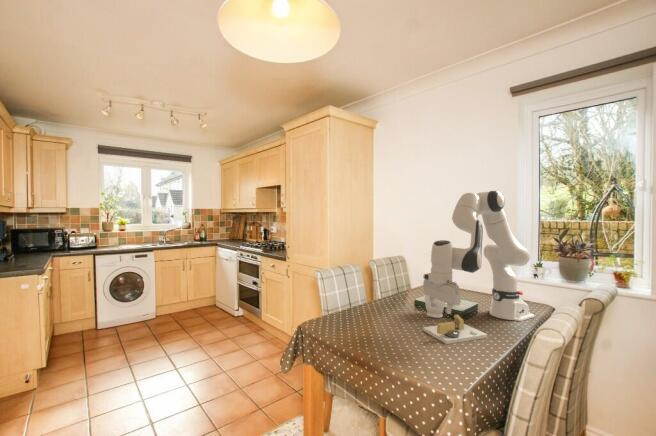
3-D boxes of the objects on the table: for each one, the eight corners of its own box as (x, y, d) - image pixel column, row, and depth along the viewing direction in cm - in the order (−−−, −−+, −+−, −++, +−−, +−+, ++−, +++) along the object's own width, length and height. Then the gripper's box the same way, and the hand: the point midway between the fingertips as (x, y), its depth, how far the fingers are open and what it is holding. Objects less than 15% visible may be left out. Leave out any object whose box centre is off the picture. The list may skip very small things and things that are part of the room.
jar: (446, 319, 158) (446, 290, 158) (425, 318, 160) (426, 289, 160) (443, 313, 169) (443, 286, 168) (423, 311, 171) (423, 285, 170)
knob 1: (452, 331, 138) (452, 319, 137) (462, 336, 132) (462, 324, 132) (433, 334, 134) (433, 321, 134) (443, 339, 129) (443, 326, 129)
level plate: (460, 325, 150) (460, 320, 150) (487, 337, 135) (487, 332, 135) (423, 330, 143) (423, 325, 143) (446, 344, 128) (446, 339, 128)
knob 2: (448, 324, 147) (448, 313, 146) (461, 324, 146) (461, 313, 146) (454, 332, 137) (454, 320, 136) (468, 333, 136) (468, 320, 136)
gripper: (465, 283, 123) (464, 317, 123) (432, 273, 142) (431, 302, 142) (452, 283, 121) (451, 318, 121) (421, 274, 140) (420, 303, 140)
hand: (440, 310), depth 132 cm, fingers open, 8 cm apart
